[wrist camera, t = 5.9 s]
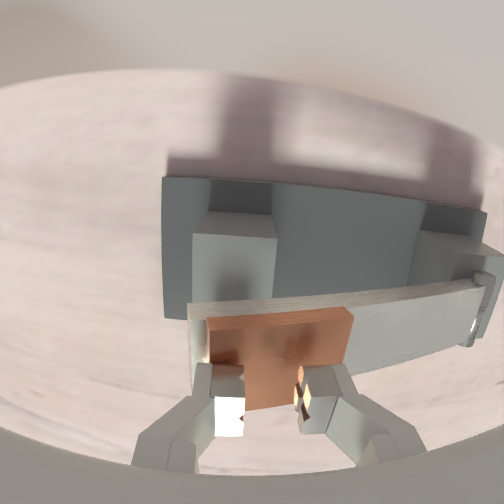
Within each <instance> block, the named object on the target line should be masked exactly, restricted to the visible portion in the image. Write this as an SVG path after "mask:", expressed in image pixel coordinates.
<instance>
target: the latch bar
mask: <svg viewBox="0 0 504 504" xmlns="http://www.w3.org/2000/svg"><path fill="white" fill-rule="evenodd" d="M496 280H497V278H496V277H495V276H494V275H493V274H491V273H489V272H486V271H483V270H474V272H473V275H472V278H468V279H461V280H454V281H447V282H439V283H431V284H423V285H415V286H406V287H397V288H388V289H379V290H369V291H359V292H348V293H338V294H326V295H314V296H301V297H288V298H274V299H258V300H241V301H222V302H200V303H187V315H188V347H189V370H190V382H191V388H192V390H193V383H194V376H195V370H196V364H197V362H200V363H212V364H213V363H216V364H231V365H244V382H245V407H244V411H249V410H256V409H263V408H270V407H276V406H282V405H287V404H293V403H294V390H295V385H296V384H297V383H298V382H299V379H298V370H299V367H300V366H309V365H329V364H345V365H346V368H347V370H348V372H349V374H350V376H353V375H357V374H361V373H365V372H369V371H373V370H377V369H381V368H385V367H388V366H392V365H396V364H399V363H402V362H406V361H409V360H413V359H416V358H419V357H422V356H425V355H429V354H432V353H435V352H438V351H441V350H444V349H447V348H449V347H452V346H455V345H460V346H463V347H471V346H473V344H474V341H475V339H476V336H477V334H478V331H479V329H480V326H481V324H482V321H483V319H484V316H485V313H486V310H487V308H488V305H489V302H490V299H491V296H492V293H493V290H494V287H495V283H496Z"/></svg>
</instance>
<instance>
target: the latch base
mask: <svg viewBox="0 0 504 504" xmlns="http://www.w3.org/2000/svg"><path fill="white" fill-rule="evenodd" d="M486 219H487V213H486V212H483V211H481V210H476V209H471V208H466V207H460V206H455V205H450V204H444V203H438V202H433V201H427V200H421V199H414V198H408V197H402V196H395V195H388V194H381V193H374V192H366V191H358V190H350V189H342V188H333V187H324V186H315V185H305V184H295V183H284V182H272V181H259V180H244V179H229V178H210V177H187V176H164V177H162V207H161V231H162V276H163V299H164V317H165V318H170V319H180V320H188V315H187V303H200V302H222V301H241V300H258V299H274V298H288V297H301V296H314V295H326V294H338V293H348V292H359V291H369V290H379V289H388V288H397V287H406V286H415V285H423V284H431V283H439V282H447V281H454V280H461V279H468V278H472V275H473V272H474V270H483V271H486V272H489V273H491V274H493V275H494V276H495V277H496V278H497V280H496V283H495V287H494V290H493V293H492V296H491V299H490V302H489V305H488V308H487V310H486V313H485V316H484V319H483V321H482V324H481V326H480V329H479V331H478V334H477V336H476V338H483V335H484V333H485V330H486V328H487V325H488V323H489V320H490V318H491V315H492V312H493V309H494V307H495V304H496V301H497V298H498V295H499V292H500V289H501V286H502V283H503V279H504V254H502V253H500V252H498V251H497V250H495V249H493V248H491V247H489V246H488V245H486V244H484V243H482V238H483V233H484V228H485V224H486Z"/></svg>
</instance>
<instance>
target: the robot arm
mask: <svg viewBox="0 0 504 504" xmlns="http://www.w3.org/2000/svg"><path fill="white" fill-rule="evenodd" d="M298 379H299V382H298V383H297V384H296V385H295V390H294V405H295V411H297V412H298V413H299V416H298V425H299V429H300V434H301V435H306V434H325V435H326V436H327V437H328V438H329V439H330V440H331V441H332V442H334V443H335V444H336V445H337V446H338V447H339V448H340V449H341V450H342V451H343V452H344V453H345V454H346V455H347V456H348V457H349V458H350V459H351V460H352V461H353V462H355V463H356V464H357V465H356V466H355V467H354V468H348V469H341V470H333V471H325V472H315V473H304V474H290V475H266V476H232V475H209V474H199V467H198V457H199V456H200V455H201V454H202V453H203V451H204V450H205V449H206V448H207V447H208V445H209V444H210V443H211V442H212V441H213V439H214V438H215V437H216V436H242V431H243V414H244V407H245V382H244V365H231V364H216V363H213V364H212V363H200V362H197V364H196V370H195V376H194V383H193V390H192V396H186V397H185V398H184V399H183V400H181V401H180V402H179V403H178V404H177V405H175V406H174V407H173V408H172V409H170V410H169V411H168V412H167V413H166V414H164V415H163V416H162V417H161V418H159V419H158V420H157V421H156V422H154V423H153V424H152V425H151V426H149V427H148V428H147V429H145V430H144V431H143V432H142V433H140V434H139V436H138V440H137V444H136V448H135V451H134V455H133V459H132V463H131V465H127V464H122V463H117V462H112V461H107V460H103V459H98V458H94V457H90V456H86V455H82V454H78V453H75V452H71V451H68V450H64V449H61V448H58V447H54V446H51V445H48V444H45V443H42V442H39V441H36V440H34V439H31V438H28V437H25V436H23V435H20V434H17V433H15V432H12V431H10V430H7V429H5V428H3V427H0V504H504V424H503V425H501V426H498V427H496V428H494V429H491V430H489V431H486V432H484V433H481V434H478V435H476V436H473V437H470V438H468V439H465V440H462V441H459V442H456V443H453V444H450V445H447V446H444V447H441V448H437V449H434V450H431V451H427V450H426V448H425V446H424V444H423V442H422V440H421V438H420V436H419V434H418V433H417V431H416V429H415V427H414V426H412V425H411V424H409V423H408V422H406V421H404V420H403V419H401V418H399V417H398V416H396V415H395V414H393V413H391V412H390V411H388V410H387V409H385V408H383V407H382V406H380V405H379V404H377V403H376V402H374V401H372V400H371V399H369V398H368V397H366V396H365V395H363V394H360V395H359V394H358V392H357V390H356V387H355V385H354V383H353V381H352V378H351V376H350V374H349V372H348V370H347V368H346V365H345V364H329V365H309V366H300V367H299V370H298Z"/></svg>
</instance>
